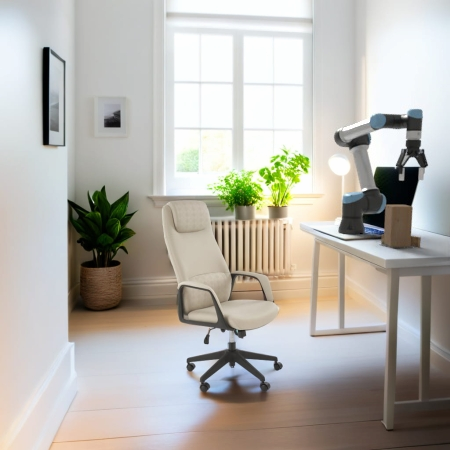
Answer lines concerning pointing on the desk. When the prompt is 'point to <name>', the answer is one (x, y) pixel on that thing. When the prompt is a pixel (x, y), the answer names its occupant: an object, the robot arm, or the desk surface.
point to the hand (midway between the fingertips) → (411, 180)
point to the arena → (414, 243)
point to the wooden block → (398, 225)
